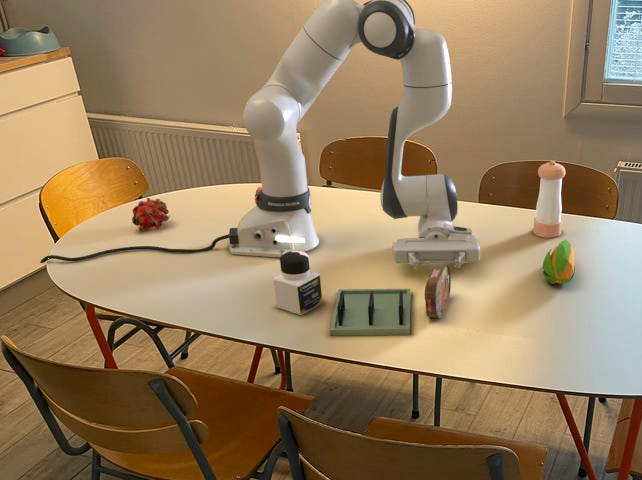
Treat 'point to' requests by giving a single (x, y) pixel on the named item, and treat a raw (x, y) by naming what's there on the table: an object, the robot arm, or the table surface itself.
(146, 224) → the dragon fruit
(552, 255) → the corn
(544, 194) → the pepper shaker
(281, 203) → the robot arm
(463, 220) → the table surface
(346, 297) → the drying rack
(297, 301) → the medicine bottle
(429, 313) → the tin
